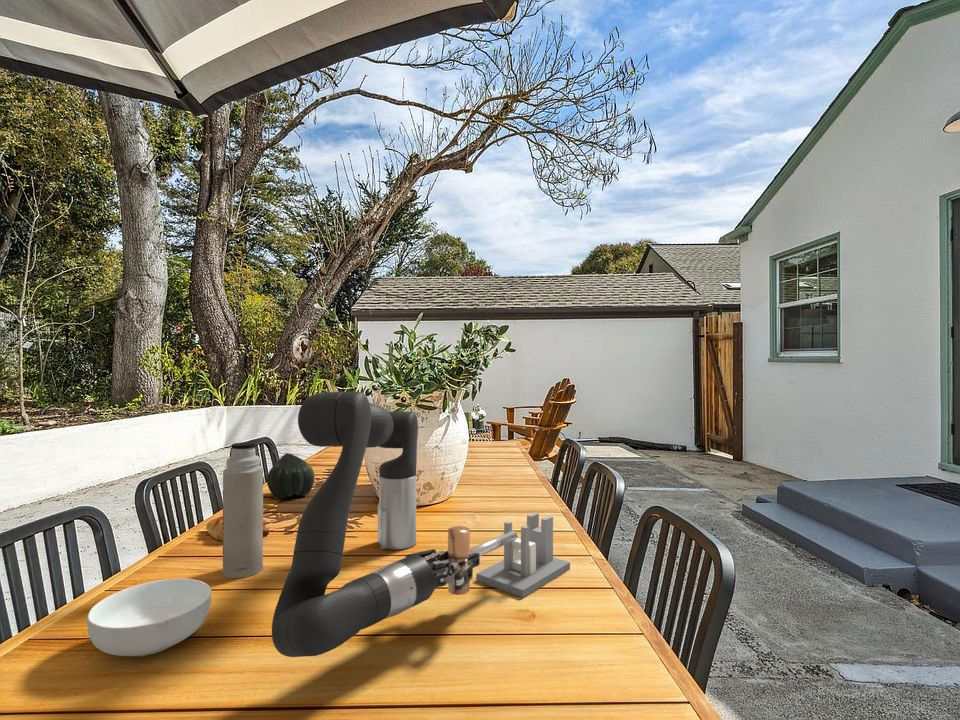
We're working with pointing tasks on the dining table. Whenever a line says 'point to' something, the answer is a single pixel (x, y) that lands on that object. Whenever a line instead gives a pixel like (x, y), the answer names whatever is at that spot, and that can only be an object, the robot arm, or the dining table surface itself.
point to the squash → (290, 477)
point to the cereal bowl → (149, 616)
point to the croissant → (217, 528)
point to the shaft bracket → (526, 560)
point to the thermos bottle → (242, 512)
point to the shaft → (471, 549)
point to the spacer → (515, 556)
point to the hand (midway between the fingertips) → (468, 555)
